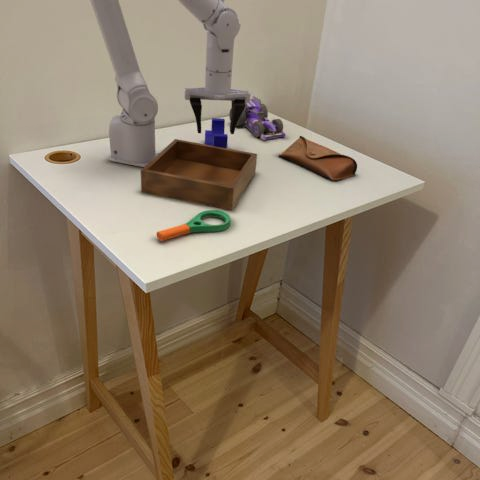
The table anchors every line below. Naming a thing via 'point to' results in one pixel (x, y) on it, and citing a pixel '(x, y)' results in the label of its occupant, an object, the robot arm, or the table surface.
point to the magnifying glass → (196, 225)
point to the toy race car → (259, 120)
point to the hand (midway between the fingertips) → (215, 132)
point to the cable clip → (216, 134)
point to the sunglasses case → (320, 159)
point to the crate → (199, 174)
